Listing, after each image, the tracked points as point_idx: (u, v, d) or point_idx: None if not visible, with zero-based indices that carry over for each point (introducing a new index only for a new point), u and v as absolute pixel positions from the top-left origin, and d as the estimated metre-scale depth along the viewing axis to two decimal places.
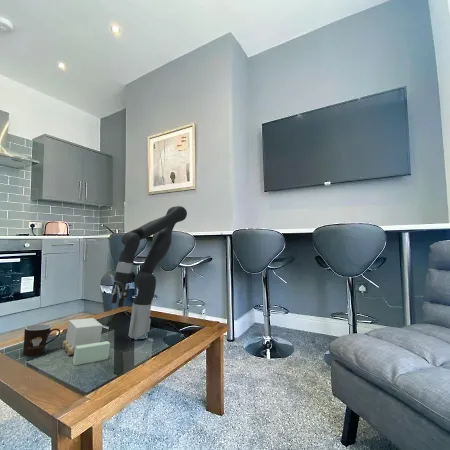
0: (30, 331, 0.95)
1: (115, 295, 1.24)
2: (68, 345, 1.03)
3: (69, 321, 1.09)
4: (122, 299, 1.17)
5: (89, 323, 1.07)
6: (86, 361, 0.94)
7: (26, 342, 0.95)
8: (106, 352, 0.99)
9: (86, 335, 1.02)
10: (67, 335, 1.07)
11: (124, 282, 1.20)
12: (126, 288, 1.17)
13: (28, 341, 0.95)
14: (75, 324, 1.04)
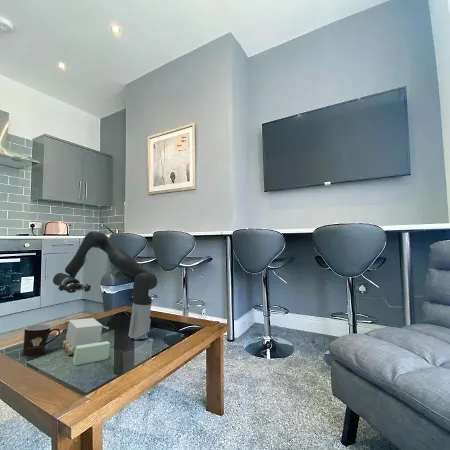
0: (30, 331, 0.95)
1: None
2: (68, 345, 1.03)
3: (69, 321, 1.09)
4: (65, 288, 1.22)
5: (89, 323, 1.07)
6: (86, 361, 0.94)
7: (26, 342, 0.95)
8: (106, 352, 0.99)
9: (86, 335, 1.02)
10: (67, 335, 1.07)
11: (64, 286, 1.28)
12: (59, 286, 1.24)
13: (28, 341, 0.95)
14: (75, 324, 1.04)
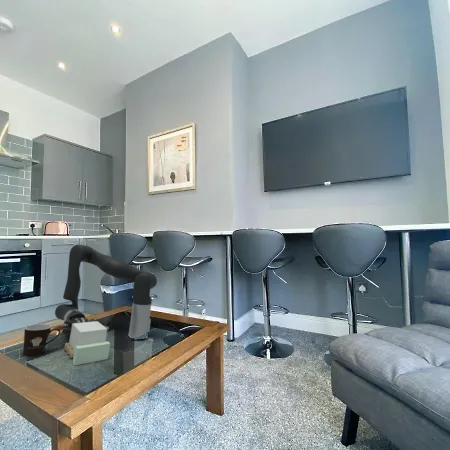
0: (30, 331, 0.95)
1: None
2: (68, 353, 1.00)
3: (72, 325, 1.04)
4: None
5: (93, 327, 1.03)
6: (86, 361, 0.94)
7: (26, 342, 0.95)
8: (106, 352, 0.99)
9: (90, 340, 0.98)
10: (70, 339, 1.03)
11: None
12: (66, 324, 1.10)
13: (28, 341, 0.95)
14: (79, 328, 1.00)
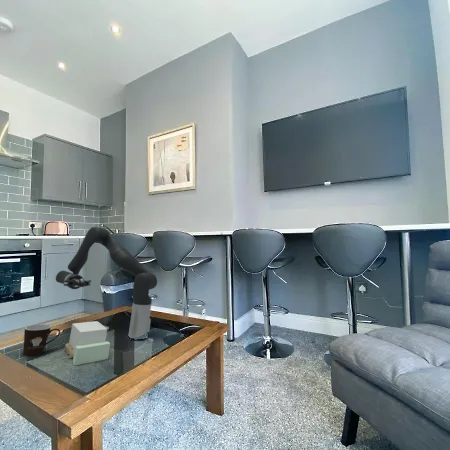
0: (30, 331, 0.95)
1: None
2: (68, 353, 1.00)
3: (72, 325, 1.04)
4: (77, 284, 1.22)
5: (93, 327, 1.03)
6: (86, 361, 0.94)
7: (26, 342, 0.95)
8: (106, 352, 0.99)
9: (90, 340, 0.98)
10: (70, 339, 1.03)
11: None
12: (66, 282, 1.22)
13: (28, 341, 0.95)
14: (79, 328, 1.00)
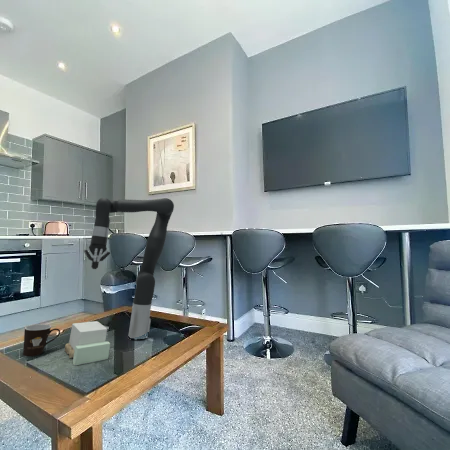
0: (30, 331, 0.95)
1: None
2: (68, 353, 1.00)
3: (72, 325, 1.04)
4: (92, 261, 1.26)
5: (93, 327, 1.03)
6: (86, 361, 0.94)
7: (26, 342, 0.95)
8: (106, 352, 0.99)
9: (90, 340, 0.98)
10: (70, 339, 1.03)
11: (90, 244, 1.26)
12: (85, 253, 1.24)
13: (28, 341, 0.95)
14: (79, 328, 1.00)
